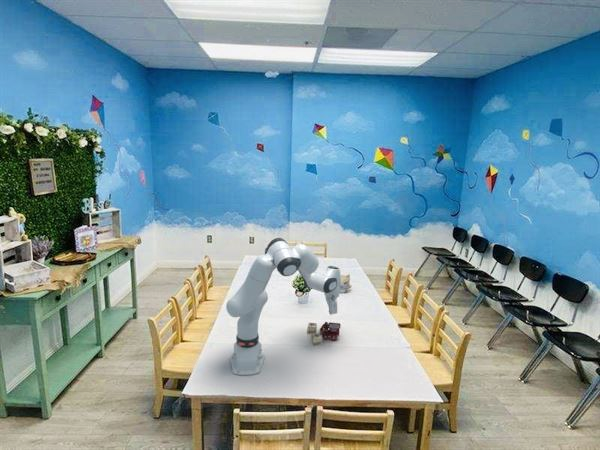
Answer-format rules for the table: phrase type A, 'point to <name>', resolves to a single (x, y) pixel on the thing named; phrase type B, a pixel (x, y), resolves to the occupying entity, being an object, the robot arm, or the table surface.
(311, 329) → the maple cube seven
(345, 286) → the kitten
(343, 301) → the table surface
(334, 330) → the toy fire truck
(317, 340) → the maple cube one
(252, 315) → the robot arm
